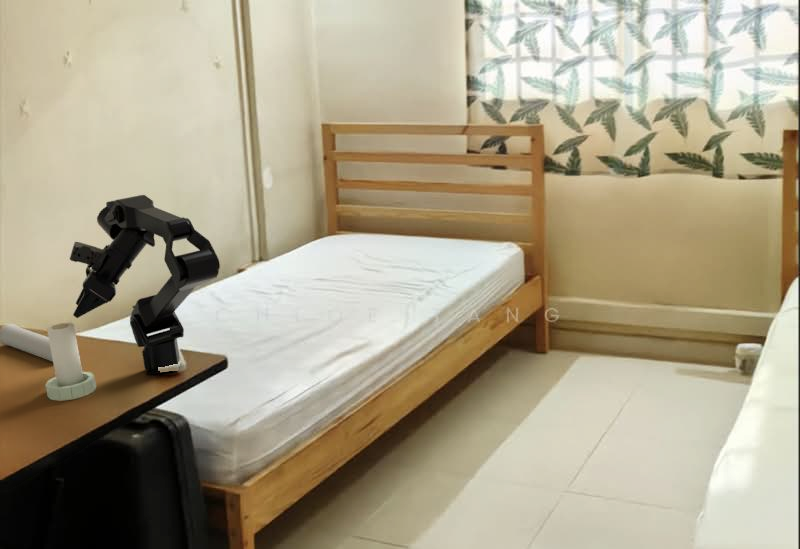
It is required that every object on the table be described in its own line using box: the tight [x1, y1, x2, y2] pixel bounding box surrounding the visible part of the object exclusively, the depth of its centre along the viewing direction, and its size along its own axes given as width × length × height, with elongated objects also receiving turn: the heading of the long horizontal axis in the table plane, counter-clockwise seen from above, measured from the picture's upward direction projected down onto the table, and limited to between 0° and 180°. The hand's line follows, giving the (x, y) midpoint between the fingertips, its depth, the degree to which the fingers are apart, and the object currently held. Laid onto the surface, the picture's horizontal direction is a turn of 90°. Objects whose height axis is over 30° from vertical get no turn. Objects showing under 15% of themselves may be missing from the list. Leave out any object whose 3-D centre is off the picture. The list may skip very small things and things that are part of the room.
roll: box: [46, 322, 84, 387], centre depth 193 cm, size 5×5×13 cm
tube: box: [0, 323, 53, 363], centre depth 221 cm, size 5×5×25 cm
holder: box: [45, 371, 97, 402], centre depth 195 cm, size 9×9×2 cm
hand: (76, 310), depth 202 cm, fingers open, 9 cm apart
